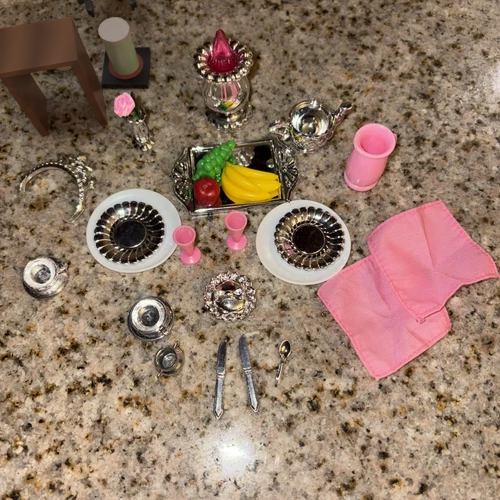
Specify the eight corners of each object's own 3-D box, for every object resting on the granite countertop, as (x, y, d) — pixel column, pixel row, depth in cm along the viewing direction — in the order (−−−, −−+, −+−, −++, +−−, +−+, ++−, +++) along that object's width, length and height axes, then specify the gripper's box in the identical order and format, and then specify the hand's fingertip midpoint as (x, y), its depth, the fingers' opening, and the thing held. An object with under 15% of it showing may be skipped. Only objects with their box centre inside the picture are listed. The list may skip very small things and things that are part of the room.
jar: (110, 75, 107) (96, 41, 98) (112, 52, 109) (99, 17, 100) (138, 75, 107) (128, 41, 98) (140, 52, 109) (130, 17, 100)
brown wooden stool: (41, 137, 104) (-4, 74, 85) (38, 98, 107) (-7, 29, 88) (107, 124, 105) (77, 59, 86) (102, 87, 108) (71, 16, 89)
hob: (103, 88, 108) (100, 83, 106) (107, 51, 111) (105, 46, 110) (148, 88, 108) (146, 83, 107) (151, 51, 111) (149, 46, 110)
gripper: (64, -56, 104) (72, 2, 99) (131, -66, 105) (142, -10, 100) (76, -26, 111) (84, 30, 106) (138, -36, 113) (149, 19, 107)
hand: (112, 11), depth 103 cm, fingers open, 8 cm apart
